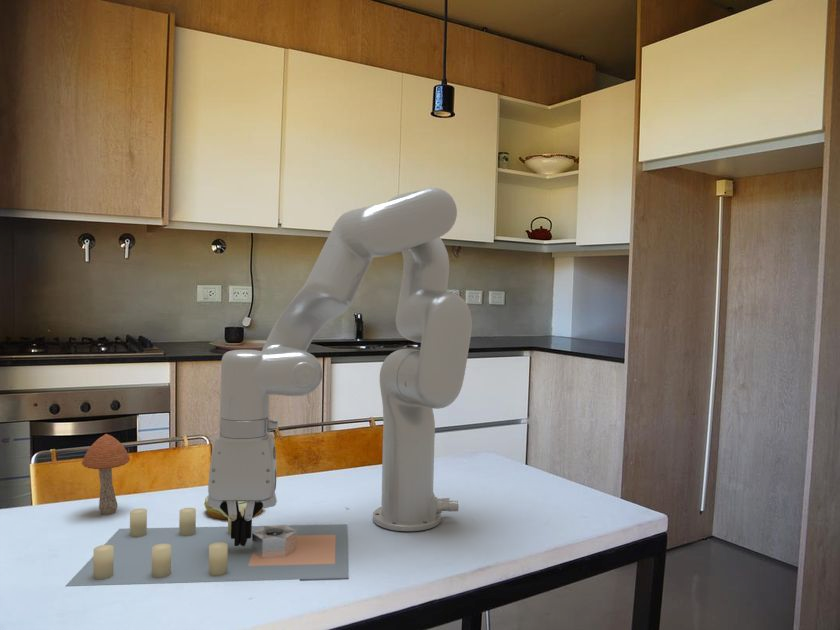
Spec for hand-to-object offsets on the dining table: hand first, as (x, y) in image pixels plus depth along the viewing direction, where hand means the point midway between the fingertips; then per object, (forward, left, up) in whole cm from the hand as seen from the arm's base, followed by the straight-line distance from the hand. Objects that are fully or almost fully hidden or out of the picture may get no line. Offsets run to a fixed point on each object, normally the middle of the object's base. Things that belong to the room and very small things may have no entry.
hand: (241, 542), depth 103 cm
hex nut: (-5, 0, -1) cm, 5 cm away
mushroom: (+27, -19, -2) cm, 33 cm away
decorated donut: (+4, -19, -2) cm, 20 cm away
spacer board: (+3, 0, -2) cm, 3 cm away
